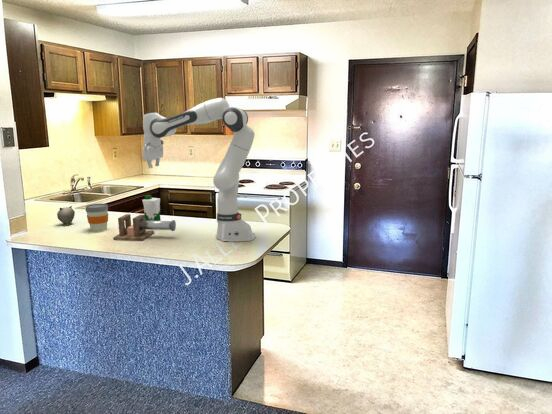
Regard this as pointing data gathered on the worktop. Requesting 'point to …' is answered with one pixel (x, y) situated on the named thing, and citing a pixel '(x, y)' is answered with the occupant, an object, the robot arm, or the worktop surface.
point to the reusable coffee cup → (97, 216)
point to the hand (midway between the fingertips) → (154, 167)
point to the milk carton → (151, 208)
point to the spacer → (130, 231)
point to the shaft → (157, 225)
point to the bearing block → (138, 233)
